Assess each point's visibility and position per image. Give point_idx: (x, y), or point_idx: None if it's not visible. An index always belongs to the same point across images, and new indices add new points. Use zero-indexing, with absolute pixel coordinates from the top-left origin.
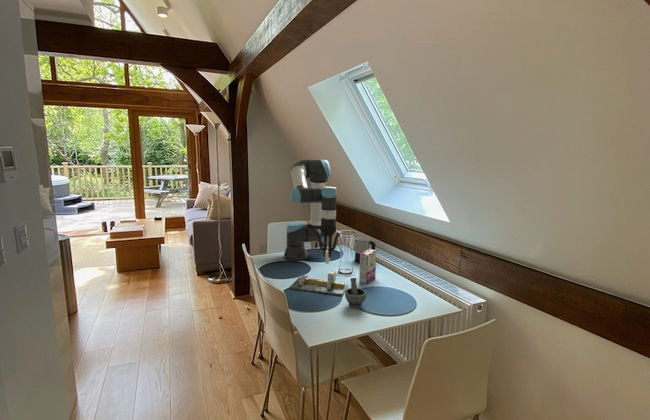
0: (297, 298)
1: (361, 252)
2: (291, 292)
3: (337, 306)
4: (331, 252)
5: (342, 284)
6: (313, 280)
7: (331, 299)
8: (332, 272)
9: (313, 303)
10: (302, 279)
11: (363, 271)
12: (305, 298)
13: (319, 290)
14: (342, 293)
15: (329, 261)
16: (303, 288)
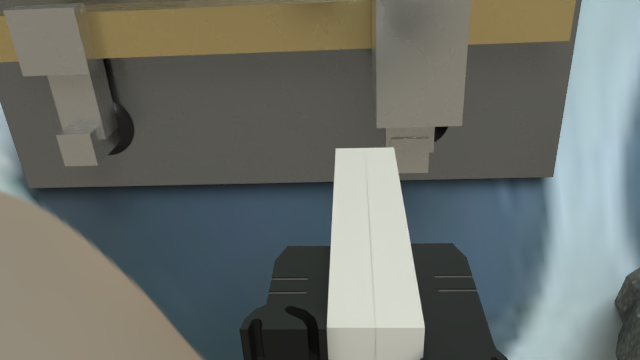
0: (206, 313)
1: None
2: (104, 241)
3: (531, 336)
4: (484, 328)
5: (548, 40)
6: (184, 54)
7: (463, 254)
8: (430, 67)
9: None
10: (59, 76)
11: None
12: (261, 297)
13: (320, 174)
14: (553, 164)
15: (395, 158)
16: (163, 182)
